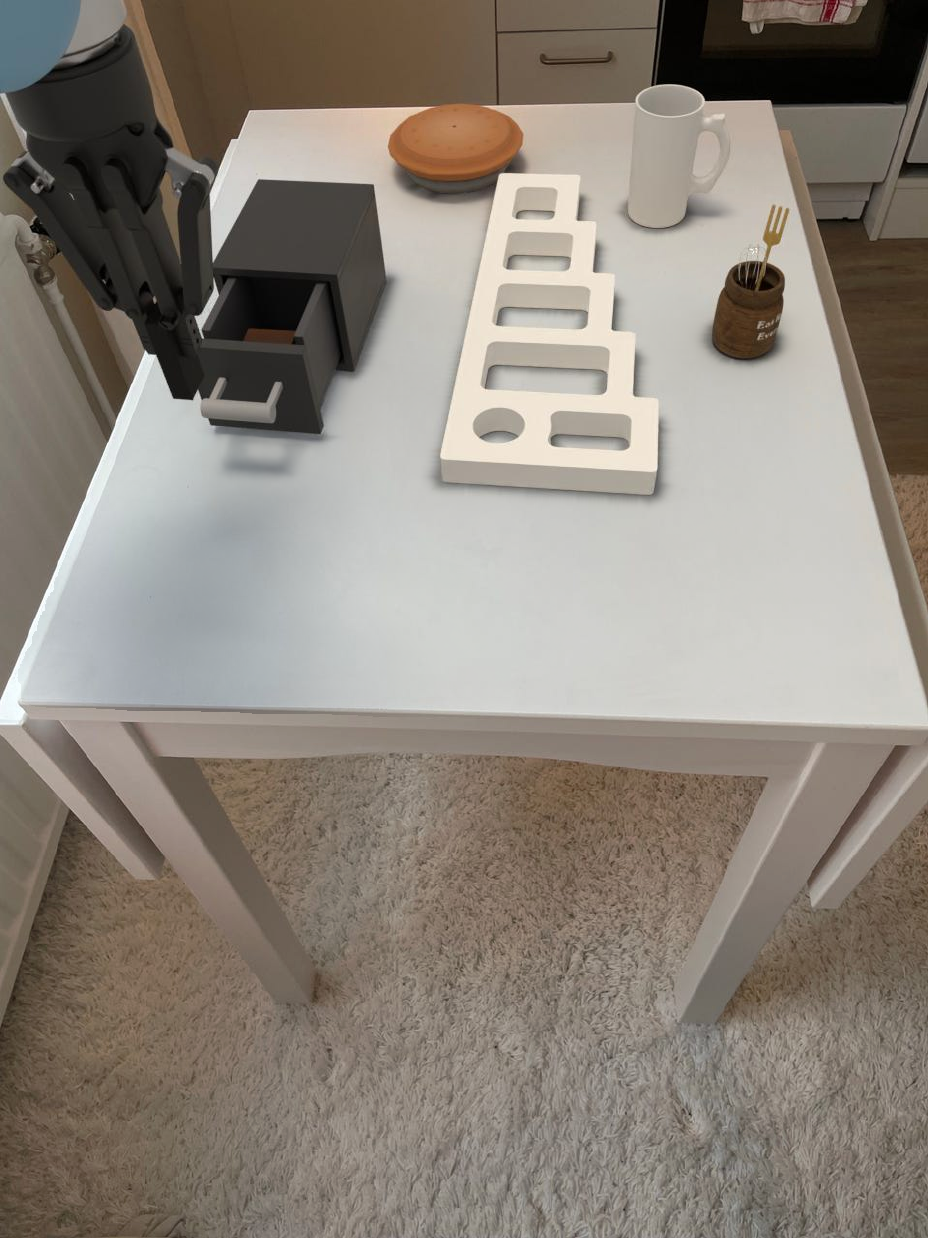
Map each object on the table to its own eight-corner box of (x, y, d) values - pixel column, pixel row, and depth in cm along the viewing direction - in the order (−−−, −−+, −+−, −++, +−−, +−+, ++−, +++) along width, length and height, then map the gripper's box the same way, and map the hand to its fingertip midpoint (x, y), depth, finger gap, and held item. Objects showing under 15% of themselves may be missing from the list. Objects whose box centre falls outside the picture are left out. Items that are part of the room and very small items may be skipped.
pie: (525, 134, 116) (526, 92, 112) (519, 205, 107) (519, 161, 103) (400, 135, 117) (395, 93, 113) (383, 205, 108) (378, 162, 104)
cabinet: (354, 371, 91) (336, 273, 83) (238, 363, 93) (210, 266, 84) (386, 280, 100) (373, 183, 91) (280, 274, 101) (258, 178, 93)
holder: (499, 195, 108) (499, 172, 106) (660, 200, 106) (663, 176, 104) (441, 481, 82) (439, 459, 80) (653, 495, 80) (657, 472, 78)
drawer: (308, 469, 82) (287, 389, 75) (194, 459, 84) (163, 380, 77) (355, 338, 93) (342, 257, 86) (253, 332, 94) (231, 251, 87)
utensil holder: (700, 349, 90) (722, 234, 81) (725, 313, 94) (748, 197, 84) (760, 368, 89) (789, 252, 79) (783, 330, 92) (814, 213, 82)
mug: (620, 226, 103) (631, 114, 94) (629, 193, 107) (640, 81, 97) (715, 235, 101) (735, 121, 92) (720, 201, 105) (740, 88, 96)
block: (294, 403, 86) (284, 363, 82) (246, 400, 86) (234, 360, 83) (306, 370, 88) (296, 330, 85) (259, 368, 89) (248, 328, 85)
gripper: (199, 7, 51) (288, 359, 71) (-21, 4, 53) (124, 348, 72) (150, 73, 47) (259, 429, 66) (-87, 68, 49) (85, 415, 68)
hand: (189, 386), depth 69 cm, fingers closed
